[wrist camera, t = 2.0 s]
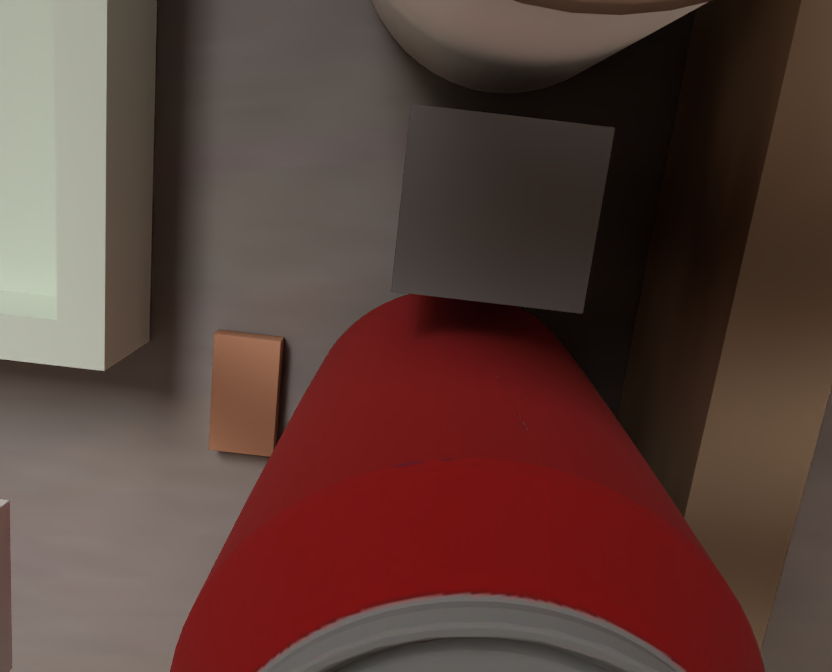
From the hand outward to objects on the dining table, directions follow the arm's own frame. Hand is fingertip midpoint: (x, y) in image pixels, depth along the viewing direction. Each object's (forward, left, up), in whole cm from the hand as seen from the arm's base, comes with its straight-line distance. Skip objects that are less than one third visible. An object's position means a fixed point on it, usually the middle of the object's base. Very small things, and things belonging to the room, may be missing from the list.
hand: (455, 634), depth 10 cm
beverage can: (0, 0, -8) cm, 8 cm away
